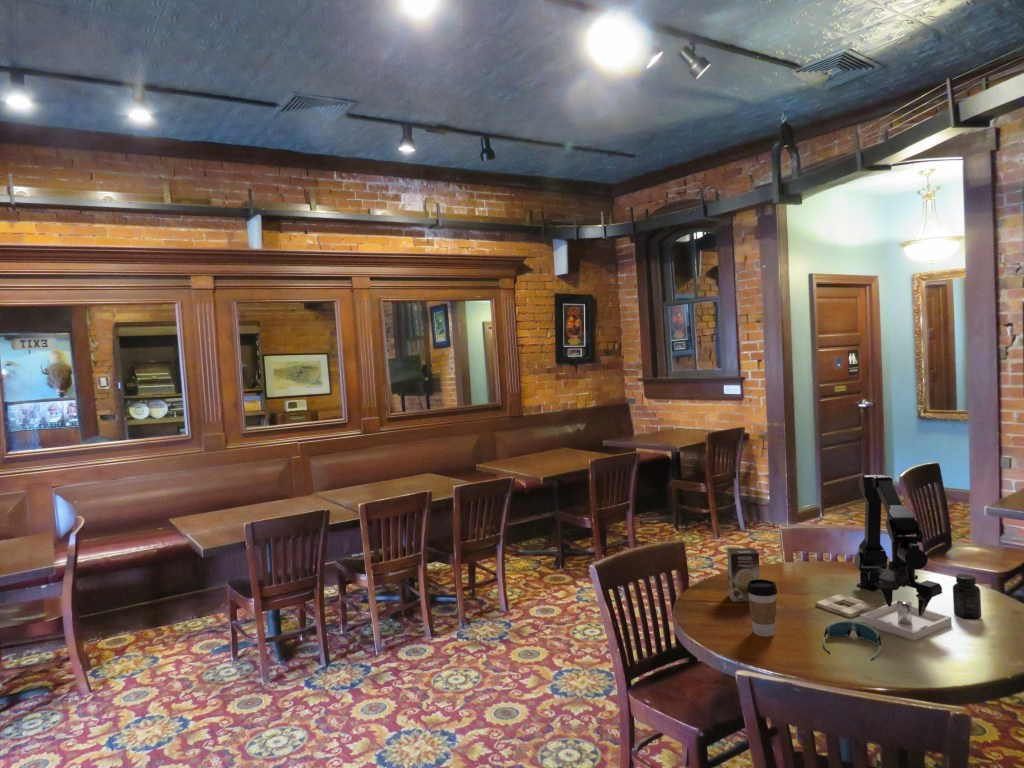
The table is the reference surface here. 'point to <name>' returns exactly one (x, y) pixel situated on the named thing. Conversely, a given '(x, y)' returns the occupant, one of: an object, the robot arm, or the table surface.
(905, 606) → the steel pin
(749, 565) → the coffee box
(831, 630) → the sunglasses
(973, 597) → the supplement bottle
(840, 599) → the socket block
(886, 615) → the tray
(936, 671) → the table surface
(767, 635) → the coffee cup
